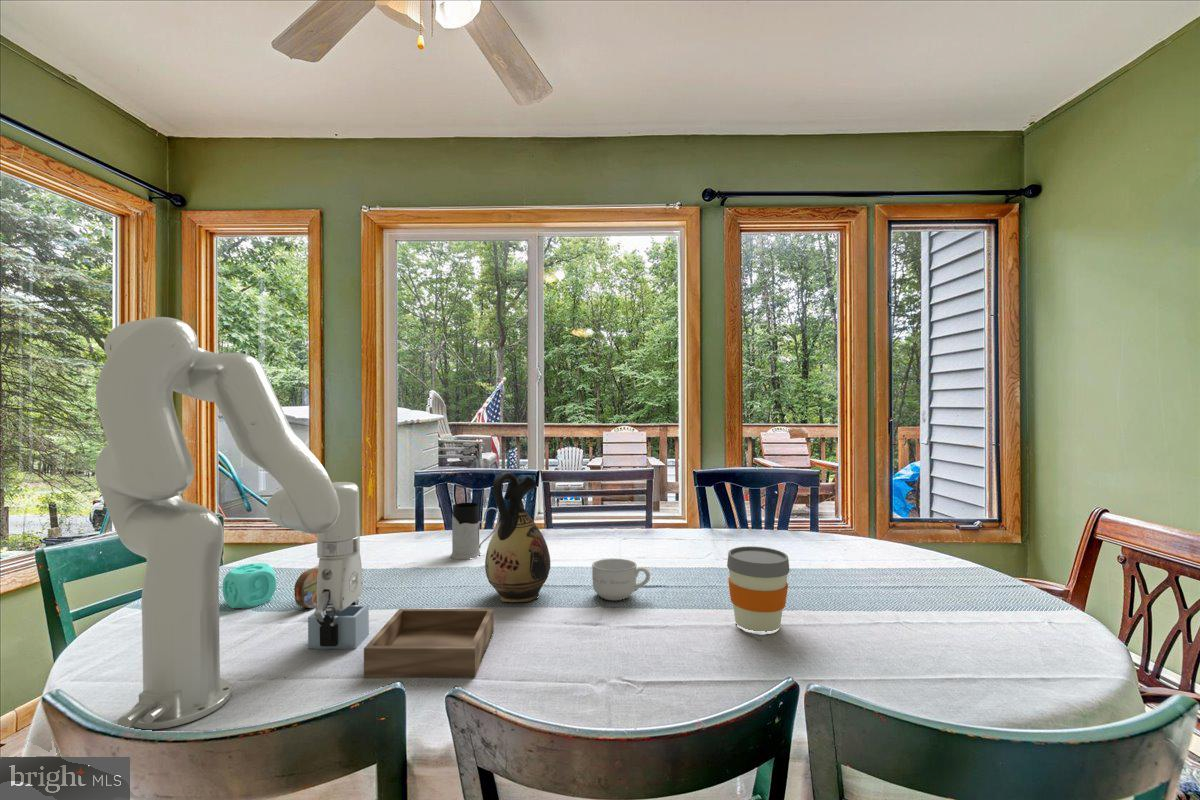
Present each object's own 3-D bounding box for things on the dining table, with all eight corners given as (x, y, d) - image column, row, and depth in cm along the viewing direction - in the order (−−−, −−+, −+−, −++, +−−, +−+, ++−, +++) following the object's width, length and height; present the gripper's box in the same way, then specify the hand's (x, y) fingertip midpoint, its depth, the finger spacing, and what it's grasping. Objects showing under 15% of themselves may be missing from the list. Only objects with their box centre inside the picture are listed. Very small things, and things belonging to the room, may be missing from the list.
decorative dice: (258, 593, 133) (258, 560, 133) (277, 600, 129) (276, 566, 129) (222, 604, 126) (221, 570, 126) (240, 612, 122) (240, 576, 122)
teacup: (583, 599, 130) (583, 565, 129) (604, 585, 139) (604, 553, 139) (638, 610, 123) (638, 575, 123) (656, 594, 133) (656, 561, 133)
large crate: (474, 677, 94) (474, 648, 94) (363, 677, 94) (363, 648, 94) (493, 633, 111) (493, 608, 111) (399, 633, 111) (399, 608, 111)
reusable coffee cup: (746, 642, 108) (746, 566, 107) (716, 617, 120) (716, 548, 119) (802, 635, 111) (802, 561, 111) (767, 611, 123) (767, 544, 123)
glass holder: (450, 552, 167) (450, 503, 167) (497, 548, 171) (497, 500, 171) (451, 561, 159) (451, 509, 158) (501, 556, 163) (501, 506, 163)
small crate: (355, 648, 105) (355, 617, 105) (308, 648, 105) (308, 617, 105) (368, 634, 111) (368, 605, 111) (323, 634, 111) (323, 605, 111)
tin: (303, 614, 121) (303, 576, 121) (291, 613, 122) (291, 575, 122) (348, 589, 136) (347, 555, 136) (336, 589, 136) (336, 555, 136)
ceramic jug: (519, 580, 142) (519, 464, 142) (563, 594, 133) (563, 470, 132) (465, 599, 129) (465, 472, 129) (509, 617, 120) (509, 479, 119)
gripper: (336, 560, 99) (337, 657, 99) (375, 534, 116) (376, 617, 117) (294, 560, 99) (296, 657, 99) (340, 534, 116) (341, 617, 117)
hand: (339, 635), depth 108 cm, fingers open, 7 cm apart
